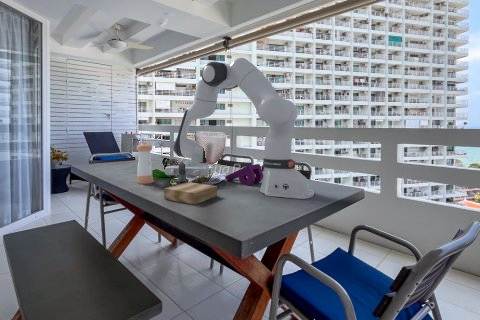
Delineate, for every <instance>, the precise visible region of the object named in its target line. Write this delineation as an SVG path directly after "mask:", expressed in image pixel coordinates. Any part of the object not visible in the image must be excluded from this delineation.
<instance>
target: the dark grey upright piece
mask: <svg viewBox="0 0 480 320" xmlns="http://www.w3.org/2000/svg"><path fill="white" fill-rule="evenodd" d="M184 163H185V162H183V161H181V162H180V163H179V164H178V166H179V171H178V172H179V175H178V178H177V179H175V184H176V185H180V184H184V183H188V182H190V181H189V179H190V178H187V177H186V171H185V164H184Z"/></svg>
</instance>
